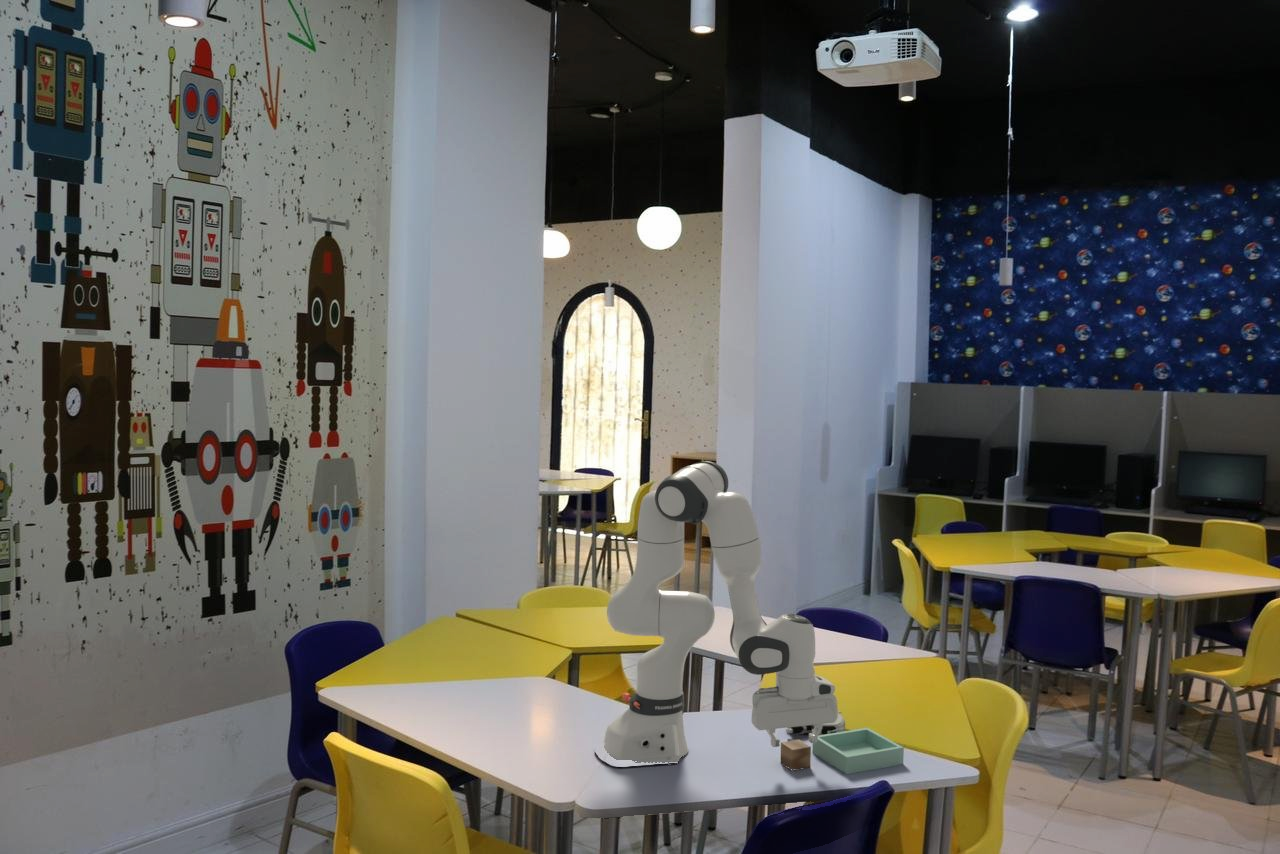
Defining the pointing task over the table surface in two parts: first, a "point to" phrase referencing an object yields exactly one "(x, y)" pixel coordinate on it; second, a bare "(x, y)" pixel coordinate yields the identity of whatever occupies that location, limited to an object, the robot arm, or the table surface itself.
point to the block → (795, 754)
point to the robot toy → (826, 728)
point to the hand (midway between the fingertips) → (794, 744)
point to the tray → (858, 750)
